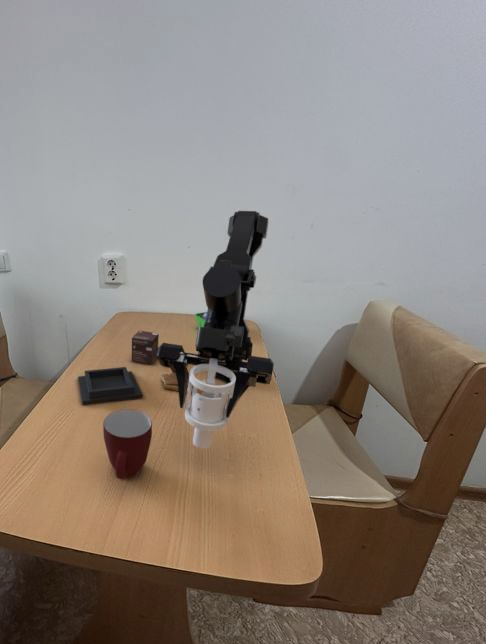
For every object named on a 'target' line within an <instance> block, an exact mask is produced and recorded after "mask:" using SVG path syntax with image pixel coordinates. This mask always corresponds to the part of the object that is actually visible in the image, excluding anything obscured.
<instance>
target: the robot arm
mask: <svg viewBox="0 0 486 644" xmlns="http://www.w3.org/2000/svg"><path fill="white" fill-rule="evenodd" d="M268 231H269V218H268V217H266V216H263V215H261V214H260V212H259V211H258V212H257V211H256V210H238V211H234V214H233V215H231V216H230V217H229V219H228V225H227V236H228V237H229V238H228V243H227V246H226V249H225V251H223V252H221V253H220V254H218V255H217V256H216V258H215V261H214V263H213V266H210V267H209V269H208V271H206V273H205V274H204V275H203V277H202V288H203V294H204V299H205V305H206V307H207V311H206V312H207V315H206V319H205V324H204V327H198V326H197V332H196V340H195V351H196V352H197V353H190V352H185V349H184V347H183V345H181V344H174V343H167V342H162V343H161V344H160V345H158V351H157V355H156V357H157V358H156V359H157V360H158V362H159V363H160V365H161V366H162V367H163V368H167V369H170V371H171V373H176V377H177V382H178V391H177V392H178V400H179V401H178V402H179V408H180V409H184V407H185V404H186V400H187V393H186V392H187V385H188V377H190V371H189V369H188V367H189V365H190V366H196V365H200V364H209V362H210V358H214V359H218V362H217V365H220V366H223V367H225V368H227V369H229V370H231V371H232V372H233V373H234V374H235V376H236V381H235V386H234V391H233V396H232V398H230V400H229V403H228V407H227V412H226V418H228V419H229V418H230V416H231V414H232V413H233V411H234V409H235V407H236V406H237V404H238V402H239V401H240V399H241V398H242V396H244V394H245V392H247V390H248V389H249V387H251V388H256V385H257V384H262V385H270V384H271V381H272V377H273V372H274V364H275V362H274V361H273V359H272V358H270V357H262V356H256V355H252V354H253V346H254V343H253V342H252V339H251V338H252V337H251V336H249V332H250V329H249V326H248V324H247V321H246V319H245V316H246V310H247V303H248V296H249V292H250V291H251V290H252V289H254V288H255V286H256V283H257V282H256V281H257V275H256V274H255V269H253V263H254V257H255V256H256V255H257V253H258V252H259V251H260V249H261V248H262V247H263V241H264V239H267V235H268ZM215 379H217V380H220V381H222V382H225V383H226V384H229V383H230V382H231V380H230V378H228V377H227V376H225V375H223V374H221V373H218V372H216V374H215Z"/></svg>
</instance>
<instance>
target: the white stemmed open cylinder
mask: <svg viewBox="0 0 486 644" xmlns="http://www.w3.org/2000/svg"><path fill="white" fill-rule="evenodd" d="M217 362H218V359H214V358H210V362H209V364H200V365H193V367H192V368H191V369H190V370H189V377H190V378H189V385H188V393H186V399H185V408H184V419H185V421H186V422H187V423H188V424H189V425H190V426H192V427H193V428H194V431H193V438H192V444H193V445H194V447H196V448H198V449H201V450H206V449H209V448H210V447H211V444H212V438H213V434H214V433H213V432H217V431H221V430H222V429H224V428H225V427H226V426H227V425H228V420H229V418H226V412H227V407H228V403H229V400H230V398H232V396H233V391H234V386H235V381H236V376H235V374H234V373H233V372H232V371H231V370H229V369H227V368H225V367H223V366H220V365H217ZM200 372H201V373H202V372H207V376H206V380H204V379H198V378H196V377H195V375H196V374H198V373H200ZM216 372H218V373H221V374H223V375H225V376H227V377H228V378H230V380H231V382H230V383H226V384H222V385H220V384H218V383H215V381H216V380H215V379H216V377H215V374H216ZM192 385H193V391H192V393H191V389H192ZM197 389H200V390H202V391H204V393H202V394H199V393H197Z"/></svg>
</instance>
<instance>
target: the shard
mask: <svg viewBox="0 0 486 644" xmlns="http://www.w3.org/2000/svg"><path fill="white" fill-rule="evenodd" d="M159 378H160V379H161V380H162V382H163V388H164V389H165V390H171V391H172V390H173V391H177V392H178V382H177V377H176V373H173V372H168V373H163V374H161V375H159ZM189 378H190V376H189V377H188V385H189ZM188 385H187V392H186V394H187V393H188ZM192 391H193V385H192V389H191V394H192ZM197 393H199V394H200V395H201V394H202V393H204V391H202V390H200V389H197Z"/></svg>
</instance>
